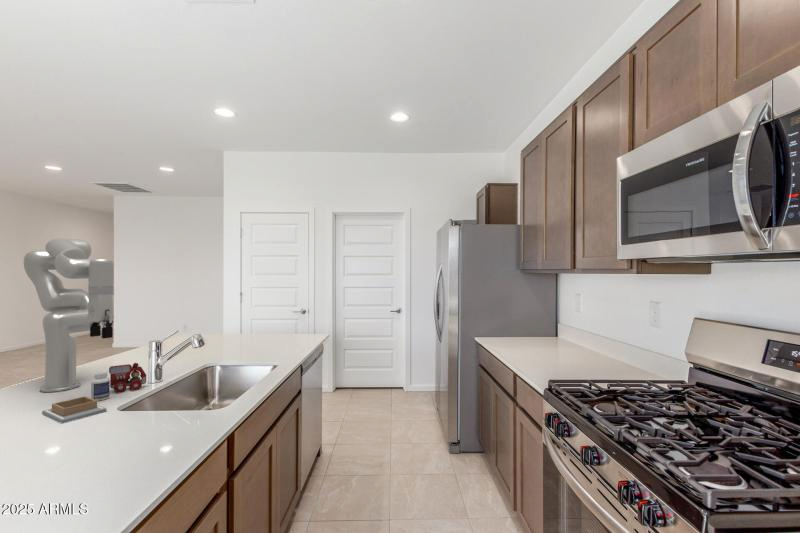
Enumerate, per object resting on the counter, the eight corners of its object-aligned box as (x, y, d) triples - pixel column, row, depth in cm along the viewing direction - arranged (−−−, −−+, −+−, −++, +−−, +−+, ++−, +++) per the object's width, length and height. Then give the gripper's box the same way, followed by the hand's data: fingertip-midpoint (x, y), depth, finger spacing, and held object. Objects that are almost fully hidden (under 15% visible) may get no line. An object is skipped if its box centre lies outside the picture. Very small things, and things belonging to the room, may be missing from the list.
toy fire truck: (147, 388, 156) (147, 363, 156) (109, 394, 148) (109, 368, 148) (145, 384, 161) (145, 360, 162) (108, 390, 154) (108, 364, 154)
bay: (42, 413, 128) (42, 403, 128) (85, 403, 138) (85, 393, 138) (61, 423, 120) (62, 412, 120) (106, 411, 130) (106, 401, 130)
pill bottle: (113, 397, 145) (113, 371, 145) (97, 402, 140) (98, 375, 140) (103, 395, 147) (103, 370, 147) (87, 400, 142) (88, 374, 142)
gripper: (79, 292, 145) (79, 337, 145) (99, 292, 136) (99, 340, 136) (102, 291, 151) (102, 334, 151) (123, 291, 143) (123, 337, 142)
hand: (101, 337), depth 143 cm, fingers open, 9 cm apart
